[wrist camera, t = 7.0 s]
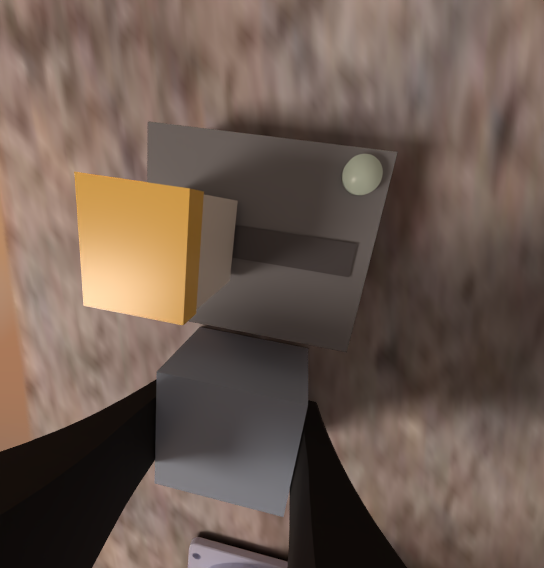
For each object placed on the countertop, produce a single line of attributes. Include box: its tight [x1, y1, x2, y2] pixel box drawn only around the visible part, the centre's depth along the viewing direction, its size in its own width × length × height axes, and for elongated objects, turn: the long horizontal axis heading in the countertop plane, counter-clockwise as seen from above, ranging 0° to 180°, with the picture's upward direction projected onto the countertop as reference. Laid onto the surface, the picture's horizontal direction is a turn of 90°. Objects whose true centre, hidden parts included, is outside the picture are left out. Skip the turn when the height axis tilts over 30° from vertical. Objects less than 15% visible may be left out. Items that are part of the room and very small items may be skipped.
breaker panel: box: [147, 122, 397, 352], centre depth 9 cm, size 6×7×3 cm
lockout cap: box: [155, 327, 308, 517], centre depth 11 cm, size 5×5×4 cm
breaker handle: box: [74, 172, 238, 325], centre depth 6 cm, size 2×2×3 cm
